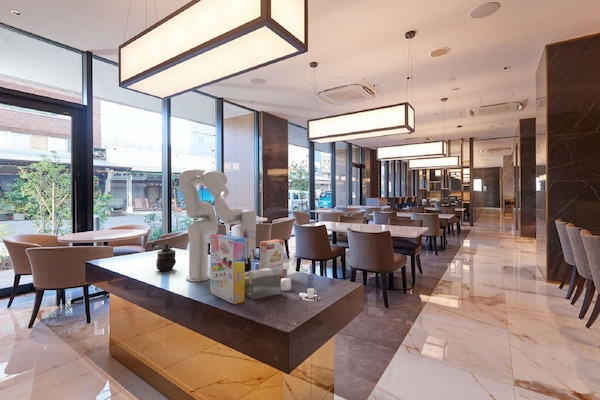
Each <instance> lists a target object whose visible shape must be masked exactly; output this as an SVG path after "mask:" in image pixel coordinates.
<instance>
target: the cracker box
mask: <svg viewBox="0 0 600 400" xmlns="http://www.w3.org/2000/svg"><path fill="white" fill-rule="evenodd" d="M284 241H285V240H283V239H278V238H276V239H271V240H269V239H268V240H262V241H260V242H259V269H265V268H269V269H272V275H273V274H280V278H284V254H285V253H284V252H285V251H284V247H285V242H284Z"/></svg>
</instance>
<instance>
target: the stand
mask: <svg viewBox="0 0 600 400" xmlns="http://www.w3.org/2000/svg"><path fill="white" fill-rule="evenodd" d="M280 294H281V277H280V274H273V275H267V276H261V277H255V278H252V292H251V291H249V272H245V297H248V298H250V299H251V300H258V299H262V298H265V297H272V296H275V295H276V296H277V295H280Z"/></svg>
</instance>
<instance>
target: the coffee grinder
mask: <svg viewBox="0 0 600 400" xmlns="http://www.w3.org/2000/svg"><path fill="white" fill-rule="evenodd" d="M155 245H157V242H155V241H153V242H151V247H152V249H157V248H159V247H162V249H161V250H158V251H157V257H156V262H155V264H156V269H157V271H159V270H160V271H159V272H161V271H164V272H169V270H173V269H174V267H175V265H176V263H177V261H176V251H175V250H173V249H172V248H170V247H169V243H168V242H166V243H165V244H160V245H157V246H155ZM163 247H164V248H163Z"/></svg>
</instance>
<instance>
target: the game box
mask: <svg viewBox="0 0 600 400" xmlns="http://www.w3.org/2000/svg"><path fill="white" fill-rule="evenodd" d="M209 249H210V262H209V263H210V268H209V269H210V270H209V271H210V274H209V275H210V279H209V280H210V282H209V283H210V285H209V286H210V287H209V290H210V291H209V292H210V294H211V295H213V296H215V297H217V298H220V299H222V300H223V301H226V302H229V303H231V304H233V305H237V304H241V303H243V302H245V297H246V295H245V273H246V272H245V238H241V237H240V236H234V235H227V234H223V233H222V234H220V233H218V234H217V233H216V234H215V235H211V236H210V248H209Z"/></svg>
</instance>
